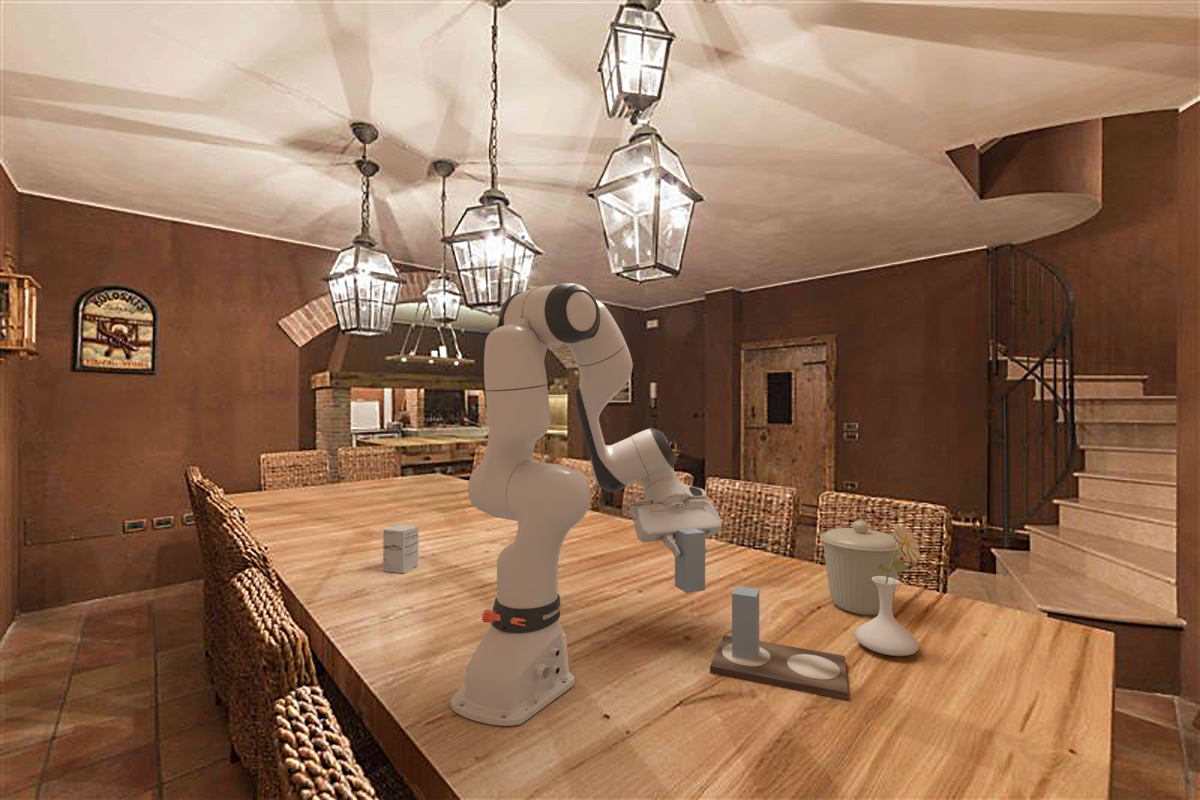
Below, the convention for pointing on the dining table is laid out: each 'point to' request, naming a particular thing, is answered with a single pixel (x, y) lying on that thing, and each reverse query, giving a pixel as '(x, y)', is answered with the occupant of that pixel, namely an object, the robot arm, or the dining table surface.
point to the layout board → (786, 668)
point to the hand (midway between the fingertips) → (691, 554)
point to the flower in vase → (890, 605)
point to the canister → (857, 566)
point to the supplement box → (400, 548)
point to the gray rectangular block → (690, 560)
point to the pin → (745, 623)
